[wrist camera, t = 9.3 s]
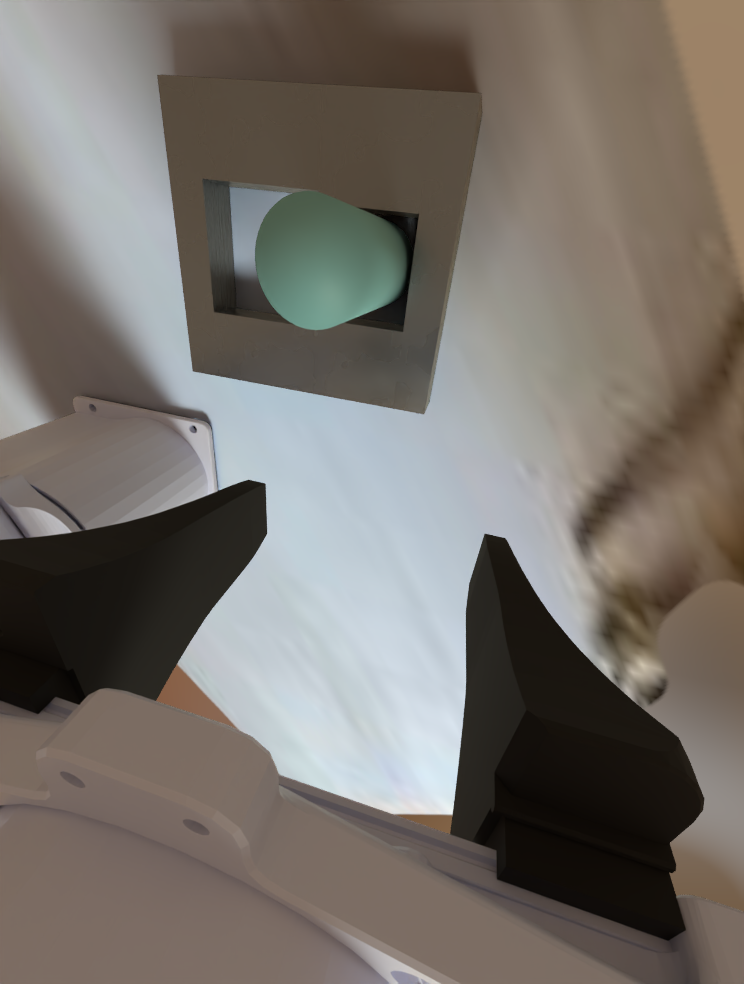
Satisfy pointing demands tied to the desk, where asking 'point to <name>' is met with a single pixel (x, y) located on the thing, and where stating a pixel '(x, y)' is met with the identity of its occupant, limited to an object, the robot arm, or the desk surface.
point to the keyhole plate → (337, 173)
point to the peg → (329, 260)
